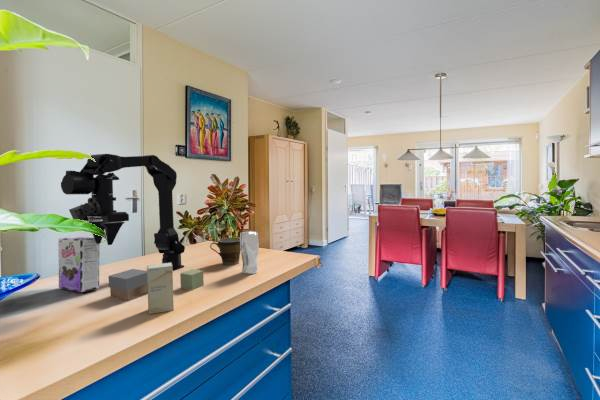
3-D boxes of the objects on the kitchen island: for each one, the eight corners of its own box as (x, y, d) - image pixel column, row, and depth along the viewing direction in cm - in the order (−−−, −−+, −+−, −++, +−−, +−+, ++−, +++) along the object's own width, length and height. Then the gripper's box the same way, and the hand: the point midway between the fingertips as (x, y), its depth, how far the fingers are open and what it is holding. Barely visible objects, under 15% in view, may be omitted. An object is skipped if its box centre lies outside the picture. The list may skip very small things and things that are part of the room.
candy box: (57, 288, 101) (57, 237, 102) (77, 284, 106) (77, 236, 107) (80, 292, 95) (80, 238, 95) (100, 288, 100) (100, 237, 100)
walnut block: (135, 289, 101) (134, 279, 100) (152, 293, 97) (151, 282, 97) (110, 298, 93) (110, 287, 93) (128, 302, 90) (127, 290, 90)
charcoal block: (133, 279, 100) (132, 268, 100) (150, 282, 97) (150, 271, 96) (109, 287, 93) (108, 275, 93) (126, 290, 90) (126, 279, 89)
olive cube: (192, 283, 105) (191, 269, 105) (203, 285, 103) (203, 270, 102) (180, 288, 100) (180, 273, 100) (192, 290, 98) (191, 275, 98)
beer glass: (263, 270, 118) (262, 231, 117) (251, 275, 112) (249, 234, 111) (249, 268, 122) (248, 230, 121) (236, 273, 116) (235, 233, 115)
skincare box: (148, 315, 80) (146, 269, 80) (148, 308, 84) (146, 264, 83) (174, 310, 83) (172, 265, 82) (173, 304, 87) (171, 261, 86)
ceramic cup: (241, 259, 136) (240, 236, 135) (244, 265, 126) (243, 240, 126) (210, 262, 132) (209, 239, 131) (211, 268, 123) (210, 243, 122)
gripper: (58, 195, 95) (60, 246, 95) (88, 193, 85) (90, 250, 85) (97, 194, 104) (99, 241, 104) (129, 193, 94) (130, 244, 95)
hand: (104, 244), depth 97 cm, fingers open, 6 cm apart
